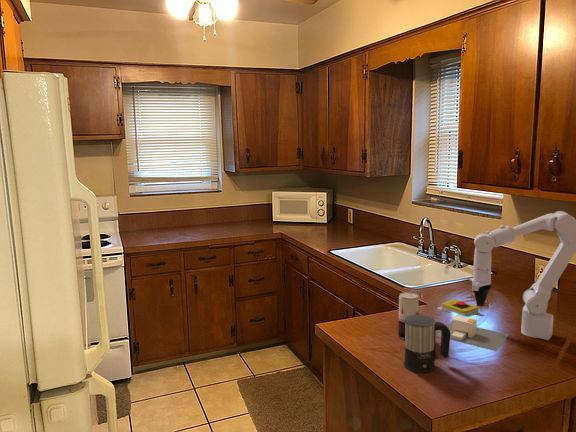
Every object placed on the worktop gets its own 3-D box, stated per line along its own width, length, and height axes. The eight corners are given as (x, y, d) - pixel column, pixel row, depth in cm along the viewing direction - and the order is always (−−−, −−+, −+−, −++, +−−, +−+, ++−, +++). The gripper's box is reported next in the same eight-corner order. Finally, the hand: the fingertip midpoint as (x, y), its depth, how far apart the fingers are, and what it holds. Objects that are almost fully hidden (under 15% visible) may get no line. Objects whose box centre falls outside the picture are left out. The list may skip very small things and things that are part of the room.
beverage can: (421, 338, 162) (422, 296, 160) (405, 341, 160) (406, 299, 157) (410, 331, 168) (411, 291, 166) (394, 334, 166) (395, 293, 163)
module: (476, 333, 163) (476, 319, 162) (471, 337, 159) (472, 323, 158) (456, 328, 167) (456, 314, 166) (451, 332, 164) (451, 318, 163)
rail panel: (509, 337, 161) (509, 331, 161) (495, 353, 149) (495, 347, 149) (451, 324, 174) (451, 318, 174) (434, 338, 162) (434, 332, 161)
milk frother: (416, 376, 136) (417, 327, 134) (384, 354, 151) (385, 310, 148) (454, 366, 142) (456, 319, 140) (420, 346, 156) (421, 303, 154)
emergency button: (467, 309, 177) (436, 299, 190) (467, 320, 178) (435, 309, 191) (482, 305, 182) (451, 294, 195) (482, 315, 183) (450, 304, 196)
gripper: (477, 262, 172) (475, 297, 174) (463, 270, 161) (462, 308, 163) (497, 265, 168) (495, 301, 170) (484, 274, 157) (482, 313, 159)
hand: (480, 305), depth 166 cm, fingers closed
